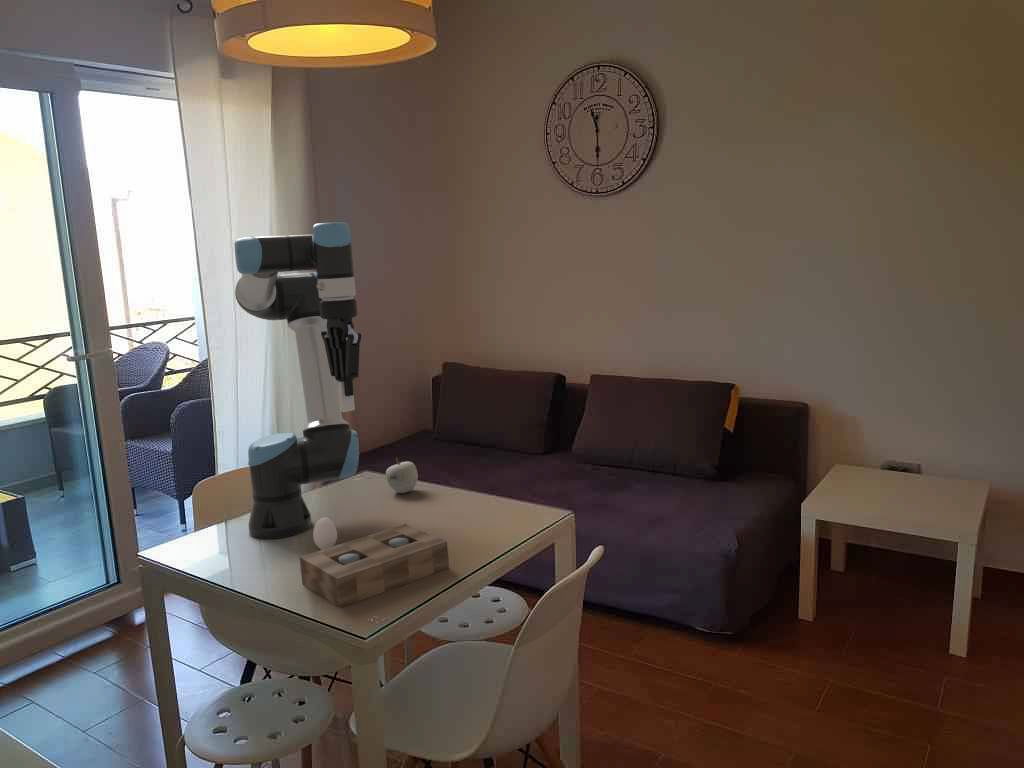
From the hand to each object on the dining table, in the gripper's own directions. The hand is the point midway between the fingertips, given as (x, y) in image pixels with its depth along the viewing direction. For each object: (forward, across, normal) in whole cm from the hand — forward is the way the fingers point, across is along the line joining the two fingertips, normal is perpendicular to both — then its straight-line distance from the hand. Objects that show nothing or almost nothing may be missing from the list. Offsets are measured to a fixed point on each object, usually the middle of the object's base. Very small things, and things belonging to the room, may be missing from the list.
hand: (347, 410), depth 173 cm
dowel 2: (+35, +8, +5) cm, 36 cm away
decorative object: (+35, -37, +35) cm, 62 cm away
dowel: (+35, +8, -7) cm, 36 cm away
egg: (+35, -14, -1) cm, 37 cm away
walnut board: (+34, +8, -1) cm, 35 cm away
